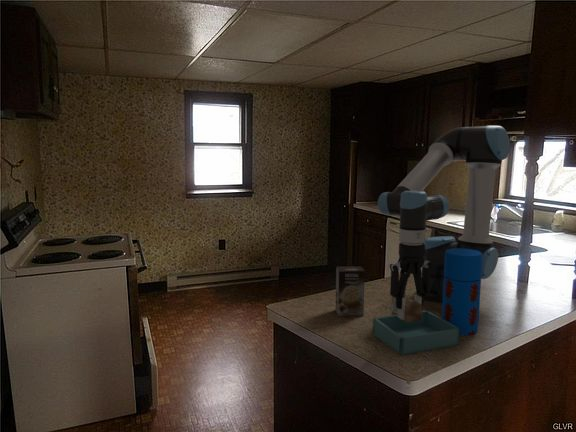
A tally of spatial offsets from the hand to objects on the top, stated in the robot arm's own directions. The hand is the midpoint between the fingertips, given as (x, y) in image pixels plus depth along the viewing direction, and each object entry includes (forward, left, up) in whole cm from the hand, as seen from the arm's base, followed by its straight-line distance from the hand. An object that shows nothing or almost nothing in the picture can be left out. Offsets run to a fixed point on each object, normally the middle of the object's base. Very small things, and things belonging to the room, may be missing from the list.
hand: (409, 317), depth 131 cm
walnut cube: (0, 0, 0) cm, 0 cm away
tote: (0, +3, -6) cm, 7 cm away
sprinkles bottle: (-3, -11, -6) cm, 13 cm away
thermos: (-18, +1, -6) cm, 19 cm away
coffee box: (+9, -23, -6) cm, 25 cm away
